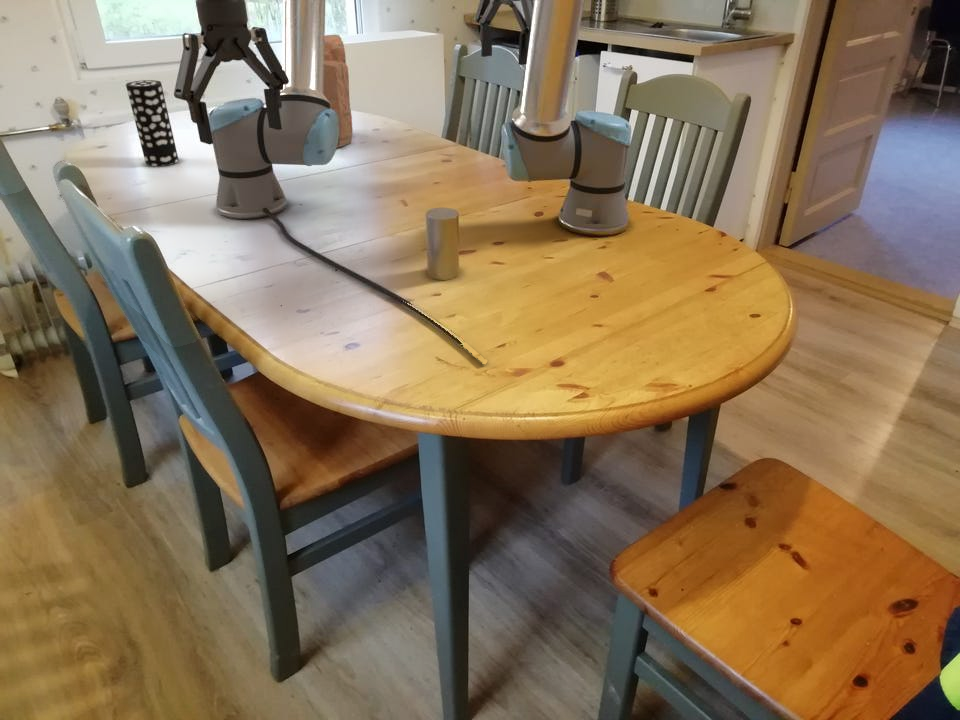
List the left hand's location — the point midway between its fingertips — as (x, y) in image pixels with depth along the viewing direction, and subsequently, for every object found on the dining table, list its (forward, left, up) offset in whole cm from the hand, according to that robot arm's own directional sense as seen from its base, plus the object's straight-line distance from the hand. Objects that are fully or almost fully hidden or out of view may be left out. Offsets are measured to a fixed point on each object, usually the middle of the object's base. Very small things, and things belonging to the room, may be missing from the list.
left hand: (242, 135), depth 119 cm
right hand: (+27, -68, +3) cm, 73 cm away
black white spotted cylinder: (+79, +8, -14) cm, 80 cm away
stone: (+80, -40, -25) cm, 93 cm away
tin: (-19, -29, -25) cm, 42 cm away
